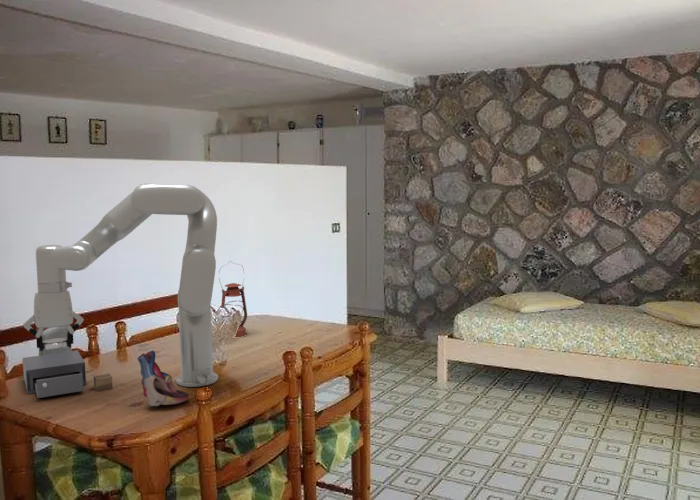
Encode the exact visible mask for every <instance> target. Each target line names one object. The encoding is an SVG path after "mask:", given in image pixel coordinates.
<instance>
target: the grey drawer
mask: <svg viewBox="0 0 700 500" xmlns="http://www.w3.org/2000/svg"><path fill="white" fill-rule="evenodd" d="M33 384H34V387H35V391H36V393H35V394H36V397H37V399H40V398H41V399H42V398H48V397H54V396H59V395H60V396H61V395H65V394H71V393H77V392H83V391H84V385H83V377H82V373H81V374H77V373H76V372H74V373H67V374H60V375H53V376H47V377H40V378H33Z"/></svg>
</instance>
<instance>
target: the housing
mask: <svg viewBox="0 0 700 500" xmlns="http://www.w3.org/2000/svg"><path fill="white" fill-rule="evenodd" d="M22 370H23V382H24V385H25V389H26V392H27V394H28V395H29V394H31V395H32V394H36V391H35V387H34V384H33V378H40V377H47V376H53V375H60V374H67V373H74V372H76V373H77V374H81V373H82V377H83V386H85V385H87V379H86V378H87V375H86V373H87V372H86V363H85V360H84V359H83V357H82V355H81V354H80V352H79V350H72V351H71V352H63V353H56V354H48V355H41V356H39V355H35V356H33V355H32V356H26V357H22Z"/></svg>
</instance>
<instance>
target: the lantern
mask: <svg viewBox="0 0 700 500" xmlns="http://www.w3.org/2000/svg"><path fill="white" fill-rule="evenodd" d="M229 263H232V264H234V265H236V263H235V262H232V261H231V260H229V261H228V263H226V264H224V265H222V266H220V267H221V268H219V271H218V272H219V273H220V271H221V269H222V268H223V267H225V266H227V265H228V264H229ZM237 265H240V266H242V267H241V268H242V270H243V273H245V269H244V267H243V265H242V264H240V263H237ZM220 279H221V278H218V280H219V284H220V286H221V287H220V288H222V289H221V294H222V296H221V306H220V308H221V307H226V305H227V306H232V304H231V303H233V302H234V303H235V302H236V300H231V301H228V302H226V297H228V298H230V297H231V298H235V297H241V300H239V302H241V303H242V305H241V304H236V306H237V307H241V309H242V311H241V313H243V314H241V316H240V318H242V320H240V321H241V322H240V323H239V325H240V326H239V328H238V330H237V333H236V336H235V337H242V336H245V335H246V334H247V331H246V330H247V328H246V327H245V326H244V325H245V323H246V322H247V319H248V310H247V303H246V297H245V296H246V295H245V287H244V284H240V283H235V282H233V283H232V282H231V283H228V284H225V285H224V287H226V290H225V289H223V286H222V283H221V280H220ZM244 280H245V279H243V281H242V283H244ZM240 287H241V288H240ZM242 316H243V317H242ZM246 336H247V335H246ZM246 336H245V337H246ZM242 338H243V337H242Z"/></svg>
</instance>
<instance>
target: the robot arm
mask: <svg viewBox="0 0 700 500" xmlns="http://www.w3.org/2000/svg"><path fill="white" fill-rule="evenodd" d="M152 215H163V216H164V215H169V216H170V215H171V216H173V215H174V216H186V217H187V220H188V224H187V225H188V226H187V236H186V244H185V250H184V252H183V256H182V262H181V263H182V264H181V271H180V272H181V273H180V279H179V287H178V290H177V305H178V326H179V330H178V331H179V351H180V375H179V376H177V377H176V379H175V382H176V384H177V385H179V386H182V387H187V388H189V387H190V388H194V387H195V388H196V387H197V388H198V387H204V386H209V385H212V384H215V383H216V382H217V381H218V380H219V375H218V374H217V373H216V372H214V369H213V367H214V366H213V365H214V364H213V362H214V361H213V340H212V310H211V304H212V297H213V290H214V283H215V275H216V269H217V267H216V266H217V260H216V256H215V251H216V250H215V248H216V242H217V241H216V240H217V232H218V231H217V230H218V229H217V227H218V216H217V211H216V209H215V205H214V204H213V202H212V200H211V199H210V198H209V197H208V196H207V195H206V194H205V193H204V192H203V191H201V189H199V188H197V187H196V186H194V185H189V184H187V185H180V184H179V185H177V184H176V185H173V184H172V185H171V184H154V183H153V184H152V183H143V184H140V185H137V186H136V187H135V188H134V189H133V191H132V192H131V193H129V194H128V195H127V196H126V197H125V198H123V199H122V200H121V201H120V202H119V203H118V204H116V205H115V206H114V207H113V208H112V209H110V210H109V211H108V212H107V213H106V214H105V215H104V216H102V218H101V220H100V221H99V222H98V223H97V224H96V226H94V227H93V228H92V229H90V230H89V232H88V233H86V234H85V235H84V236H83V237H82V238H80V239H79V240H78V241H76V243H74V244H72V245H67V246H63V245H59V244H43V245H39V246H38V247H36V249H35V261H36V262H35V263H36V278H37V281H36V282H37V292H36V293H34V298H33V299H34V300H33V315H32V316H31V317H30V318H28V320H26V321H25V322H24V323H23V324H22V326H23V328H24V329H25V330H27V331H28V332H29V333H30V334H31V335H32V336H34V337H35V338H36V339H35V340H36V348H37V349H38V350H39V349H40V351H43V340H42V336H41V335H42V333H43V331H44V330H45V329H48V328H52V327H61V326H66V328H67V329H68V333H67V339H68V347H69V348H71V349H72V345H73V344H74V333H75V332H76V331H77V330H78V329H79V327H80V326H81V325H82V323H83V322H84V320H85V319H84V317H82V316H81V315H79V314H78V313H76V312H74V311H73V304H72V303H73V302H72V299H71V293H70V290H68V289H69V288H72V287H73V283H72V282H68V281H67V271H72V272H73V271H75V272H80V271H83V270H86V269H87V268H88V267H89V266H90V265H92V264H93V263H94V262H95V261H96V260H97V259H99V258H100V257H101V256H102V255H103V254H104V253H106V252H107V251H108V250H110V249H111V247H112V246H114V245H115V244H117V243H118V242H119V241H122V240H123V239H125V238H126V237H127V236H128V235H130V233H132V232H133V231H134V230H136V229H137V228H138V227H139V226H140V225H141V224H142V223H143V222H145V221H146V220H147V219H148V218H149V217H151V216H152ZM74 319H75V320H76V322H75V323H74ZM73 323H74V324H73ZM32 324H34V325H35V326H36V329H34V328H33V327H32V326H31V325H32ZM72 324H73V325H72ZM71 325H72V326H71Z"/></svg>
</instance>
